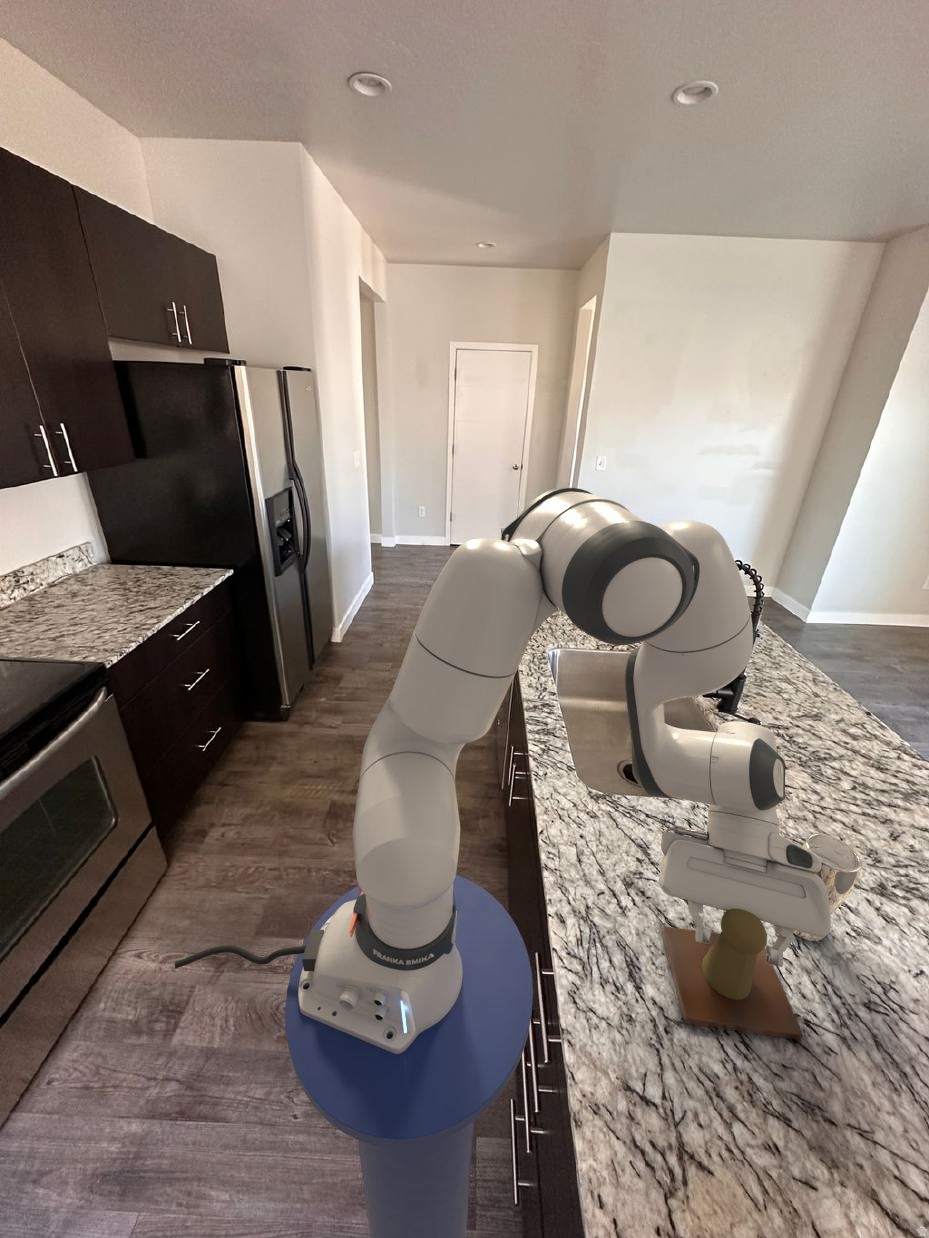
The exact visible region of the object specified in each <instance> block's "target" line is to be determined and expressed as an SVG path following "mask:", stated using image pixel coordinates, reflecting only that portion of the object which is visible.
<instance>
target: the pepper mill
mask: <svg viewBox="0 0 929 1238" xmlns="http://www.w3.org/2000/svg"><path fill="white" fill-rule="evenodd" d="M720 930H721V932H720V933H719V934H720V935H719V936H718V938H717V939H716V941H715V942H714V944H713V945H712V947H711V948H710V950H709V951H708V953H707V954H706V956H705V957H704V959H703V962H702V968H703V973H704V975H705V977H706V979H707V981H708V982H709V983H710V985H711V986H712V987H713V988H714V989H715V990H716V991H718V992H719V993H720V994H722V995H724V996H725V997H727V998H731V999H735V1000H739V999H744V998H745V997H747V996H748V995H749V993H750V991H751V986H752V980H753V974H754V968H755V963H756V957H757V954H758V953H760V952H761V951H762V950H763V949H764V947H765V946H767V944H768V933H767V930H766V927H765V925H764V924H763V921H761V920H759V919H758V918H757V917H756V916H755V915H754V914H752V913H750V912H748V911H746V910H742V909H731V910H728V911H725V912H724V914H723V915H722V916H721V920H720Z"/></svg>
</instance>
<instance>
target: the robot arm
mask: <svg viewBox="0 0 929 1238" xmlns="http://www.w3.org/2000/svg"><path fill="white" fill-rule="evenodd" d="M507 535H508V537H507V541H506V536H507ZM559 610H560V611H561V612H562V613H563V614H564V615H566V616H567V617H568V619H569V620H570V621H571V623H572V624H573V626H575V627H576V628H577V629H579V630H580V631H581V632H583V633H585V634H586V635H588V636H590V637H592V638H593V639H595V640H598V641H600V642H602V643H606V644H609V645H613V646H630V645H635V644H639V643H641V644H640V645H639V646H637V647H635V648H633V649H632V650H631V651H630V654H629V657H628V658H627V662H626V666H625V670H624V671H625V672H624V673H625V674H624V688H625V689H624V691H625V700H626V709H627V717H628V722H629V723H628V724H629V725H628V726H629V731H630V739H631V770H632V775H633V777H634V779H635V781H636V782H637V784H638V785H639V786H640V787H641V788H642V789H643V790H644V792H646V794H648V795H649V796H650V797H653V798H654V797H655V798H664V799H677V800H678V799H679V800H682V801H683V800H684V801H688V802H694V803H699V804H705V805H708V809H707V822H706V823H707V824H706V831H704V830H699V829H694V828H692V829H691V828H688V827H684V826H682V825H673V826H670V827H667V828H665V829H664V830H663V831H662V834H661V842H660V849H661V852H662V854H663V857H662V861H661V865H660V870H659V877H658V886H659V887H660V889H661V890H662V892H663V893H664V894H665V895H667V896H670V897H673V898H678V899H681V900H684V901H688V903H687V905H688V906H687V909H688V912H689V914H690V917H691V919H692V921H693V923H694V925H695V931H696V934H695V939H696V941H697V942H699V943H702V944H706V945H710V939H709V938H710V937H711V933H712V931H711V929H709V928H707V927H704V923H703V922H702V919H701V917H700V914H701V915H702V914H703V913H704V906H707V907H710V908H713V909H717V910H721V911H725V912H726V911H728V910H731V909H742V910H746V911H748V912H750V913H752V914H754V915H755V916H756V917H757V918H758V919H759V920H760V921H761V922H765V923H768V924H771V925H774V933H775V934H776V935H778V937H777V939H776V940H775V942H774V943H773V945H772V946H769V945H766V946H765V951H766V955H765V959H766V961H767V962H768V963H770V964H772V965H773V966H776V967H780V968H782V967H783V966H784V953H785V952H786V950H787V949H788V948H789V946H790V945H791V944H792V942H793V941H794V933H793V930H797V931H800V932H804V933H808V934H811V935H815V936H819V937H823V938H825V937H826V936H827V935H828V934H829V933H830V932H831V929H832V917H831V916H830V906H829V899H828V893H827V889H826V886H825V884H824V882H823V880H822V879H821V878H820V877H819V876H818V875H817V874H815V873H813V872H819V871H820V870H821V866H822V864H821V859H820V857H819V856H818V855H816V854H814V853H813V852H811V851H809V850H807V849H805V848H803V847H802V846H801V845H799V844H797V843H795V842H793V841H792V840H789V839H788V838H786V837H784V836H782V835H780V821H779V817H778V813H777V806H778V805H779V804H781V803H782V802H784V800H786V762H785V760H784V758H783V757H782V756H781V755H780V754H779V753H778V747H777V743H776V742H777V741H776V738H775V735H774V733H773V732H772V731H771V730H769V729H768V728H766V727H765V726H762V725H760V724H757V723H753V722H748V721H743V720H742V721H741V720H735V721H733V720H732V721H726V722H724V723H721V724H720V725H719V726H718V728H717V731H716V732H714V731H705V730H696V729H685V728H679V727H675V726H672V725H669V724H667V723H666V721H665V720H666V719H665V708H664V704H666V703H668V702H672V701H676V700H681V699H685V698H692V697H699V696H704V695H708V694H711V693H713V692H717V691H719V690H720V689H722V688H724V687H726V686H727V685H729V684H730V683H732V682H733V681H734V680H735V679H736V678H738V677H739V676H740V675H741V674H742V673H743V671H744V670H745V669H746V668H747V666H748V664H749V662H750V660H751V658H752V656H753V650H754V649H753V648H754V628H753V621H752V620H753V619H752V614H751V609H750V604H749V599H748V596H747V591H746V588H745V584H744V580H743V579H742V576H741V572H740V569H739V567H738V565H737V563H736V560H735V558H734V555H733V553H732V551H731V549H730V547H729V545H728V543H727V541H726V539H725V537H724V536H723V535H722V534H721V533H720V532H719V531H718V529H716V528H714V527H713V526H711V525H709V524H707V523H705V522H701V521H697V520H677V521H670V522H667V523H665V524H661V525H659V526H657V525H655V524H653V523H650V522H647V521H645V520H644V519H643V518H641V517H639V516H638V515H636V514H634V512H631V511H630V510H629V509H628V508H626V507H625V506H624V505H622V504H621V503H619V502H617V501H614V500H612V499H609V498H607V497H604V496H600V495H598V494H593V493H592V492H590V491H588V490H585V489H583V488H577V487H558V488H553V489H550V490H548V491H545V492H543V493H541V494H540V495H538V496H537V497H535V498H534V499H533V500H531V501H530V503H529V504H527V505H526V506H525V508H524V509H523V510H522V511H521V512H520V513H519V515H518V517H516V518H515V519H513V521H512V522H510V523H509V524H508V525H507V526H506V527H505V528H504V530H502V533H501V537H500V539H498V538H493V537H483V538H482V537H481V538H473V539H470V540H467V541H465V542H463V543H462V544H460V545H459V546H458V547H456V549H454V551H453V553H452V554H451V555H450V557H449V559H448V560H447V562H446V563H445V565H444V566H443V568H442V570H441V572H440V573H439V575H438V577H437V579H436V581H435V582H434V584H433V586H432V588H431V591H430V592H429V594H428V596H427V598H426V600H425V603H424V604H423V607H422V609H421V611H420V614H419V616H418V619H417V622H416V623H415V627H414V630H413V631H412V632H413V633H412V635H411V637H410V640H409V644H408V646H407V649H406V652H405V655H404V657H403V660H402V663H401V665H400V668H399V670H398V673H397V676H396V679H395V681H394V685H393V687H392V689H391V691H390V694H389V696H388V698H387V700H386V701H385V703H384V705H383V706H382V709H381V710H380V711H379V713H378V716H377V717H376V719H375V720H374V722H373V725H372V727H371V729H370V731H369V733H368V735H367V737H366V741H365V743H364V746H363V749H362V757H361V765H360V772H359V782H358V788H357V796H356V801H355V809H354V819H353V826H352V848H353V850H352V851H353V860H354V868H355V875H356V880H357V881H356V882H357V884H358V885H359V886H358V885H357V886H358V889H359V891H360V892H361V895H360V896H359V897H358V898H357V899H356V900H353V901H349V902H346V903H344V904H343V905H342V906H340V907H339V908H338V910H337V911H336V912H335V914H334V915H333V916H332V917H331V918H329V919H328V921H327V922H326V923H325V924H324V925H323V927H322V928H321V929H320V930H319V929H312V928H311V929H310V930H309V933H308V935H309V937H308V940H307V944H306V946H302V945H299V946H292V947H284V948H281V949H277V950H274V951H273V952H271V953H270V954H269V955H268V956H258V955H256V954H254V953H252V952H249V951H248V950H246V949H244V948H242V947H239V946H236V945H229V944H228V945H227V944H226V945H219V946H214V947H209V948H206V949H204V950H201V951H199V952H197V953H194V954H192V955H190V956H186V957H184V958H182V959H179V960H176V961H175V962H174V969H175V970H176V969H179V968H183V967H185V966H188V965H190V964H192V963H195V962H196V961H197V962H198V961H199V960H203V959H204V958H207V957H210V956H213V955H218V954H224V953H226V954H228V953H229V954H234V955H237V956H240V957H242V958H244V959H245V960H247V961H248V962H250V963H253V964H256V965H261V966H262V965H268V964H270V963H271V962H273V961H274V960H275V959H277V958H281V957H285V956H291V955H293V956H294V955H298V954H303V953H304V954H303V958H302V962H303V969H302V973H301V977H300V982H299V990H298V1001H299V1008H300V1012H301V1013H302V1014H304V1015H305V1016H308V1017H310V1018H312V1019H314V1020H317V1021H319V1022H321V1023H324V1024H326V1025H328V1026H331V1027H333V1028H335V1029H338V1030H340V1031H342V1032H345V1033H347V1034H349V1035H352V1036H354V1037H357V1038H359V1039H361V1040H364V1041H366V1042H368V1043H371V1044H373V1045H375V1046H378V1047H380V1048H382V1049H385V1050H387V1051H389V1052H392V1053H394V1054H400V1053H402V1052H404V1051H405V1050H406V1049H407V1048H408V1047H409V1046H410V1044H411V1043H412V1042H413V1041H414V1039H415V1038H416V1037H417V1036H418V1035H419V1034H420V1033H421V1032H423V1031H424V1030H426V1029H428V1028H430V1027H431V1026H433V1025H435V1024H436V1023H438V1022H439V1021H440V1020H441V1019H442V1018H444V1017H445V1015H446V1014H447V1013H448V1012H449V1011H450V1010H451V1008H452V1007H453V1005H454V1004H455V1002H456V1000H457V998H458V995H459V992H460V989H461V985H462V979H463V967H462V961H461V957H460V954H459V952H458V949H457V947H456V945H455V938H456V925H457V911H456V903H455V898H454V894H453V881H454V879H455V876H456V875H457V869H458V863H459V853H460V843H461V842H460V840H461V822H460V821H461V820H460V814H459V813H460V811H459V806H458V805H459V804H458V797H457V788H456V774H457V773H456V771H457V763H458V759H459V756H460V753H461V752H462V749H463V748H464V747H465V745H466V744H470V743H473V742H475V741H477V740H479V739H481V738H483V737H484V736H485V735H486V734H487V733H488V732H489V731H490V730H491V727H492V725H493V723H494V720H495V719H496V717H497V714H498V712H499V710H500V708H501V706H502V703H503V701H504V699H505V697H506V695H507V692H508V690H509V688H510V686H511V684H512V682H513V680H514V678H515V675H516V674H517V671H518V669H519V666H520V664H521V662H522V660H523V657H524V655H525V652H526V650H527V646H528V645H529V642H530V639H531V638H532V637H533V636H534V634H535V632H537V630H538V629H539V627H540V626H542V624H543V623H544V622H545V621H546V620H548V619H549V618H550V617H551V616H553V615H554V614H555V613H557V612H558V611H559ZM672 831H673V832H672ZM811 871H812V872H811ZM306 986H309V988H308V989H306V990H305V989H304V988H305V987H306ZM334 1015H336V1016H334ZM390 1034H391V1035H393V1037H392V1039H387V1036H388V1035H390Z"/></svg>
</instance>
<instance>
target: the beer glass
mask: <svg viewBox="0 0 929 1238" xmlns="http://www.w3.org/2000/svg"><path fill="white" fill-rule="evenodd" d="M801 847H803V848H805V849H807V850H809V851H811V852H813V853H814V854H816V855H818V856H819V857H820V859H821V864H822V866H821V870H820V871H819V872H813V873H815V874H817V875H818V876H819V877H820V878H821V879H822V880H823V882H824V884H825V886H826V889H827V893H828V899H829V906H830V917H831V916H832V915H833V914H834V913H835V912H836V910H838V909H839V908H840V907H841V906H842V904H844V902H845V901H846V900H847V898H849V896H850V894H851V893H852V891H853V889H854V887H855V884H856V883H857V879H858V877H859V873H860V870H861V868H862V865H863V863H862V859H861V857H860V855H859V854H858V853H857V852H856V851H855V850H854V848H852V846H851V845H849V844H848V843H846V842H845V841H843V840H841V839H839V838H837V837H835V836H833V835H830V834H827V833H822V832H821V833H820V832H814V833H810V834H809V835H807V836H806V838H805V840H804V842H803V844H802V846H801ZM811 872H812V871H811ZM793 935H795V936H797V937H799V938H801V939H803V940H806V941H809V942H819V941H821V940H823V938H824V937H819V936H815V935H811V934H808V933H804V932H800V931H797V930H793Z"/></svg>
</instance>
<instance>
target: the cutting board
mask: <svg viewBox="0 0 929 1238" xmlns="http://www.w3.org/2000/svg"><path fill="white" fill-rule="evenodd" d="M660 932H661V936H662V940H663V944H664V948H665V952H666V957H667V960H668V964H669V967H670V972H671V975H672V979H673V983H674V988H675V991H676V992H675V993H676V996H677V998H678V1003H679V1007H680V1011H681V1014H682V1019H683V1022H684V1024H689V1025H695V1026H702V1027H709V1028H714V1029H715V1028H716V1029H722V1030H729V1031H735V1032H736V1031H737V1032H743V1033H749V1034H756V1035H762V1036H770V1037H776V1038H783V1039H788V1040H789V1039H790V1040H796V1041H801V1039H802V1038H803V1036H804V1034H803V1032H802V1030H801V1029H802V1028H801V1027H800V1025H799V1022H798V1020H797V1018H796V1015H795V1013H794V1011H793V1009H792V1007H791V1004H790V1002H789V999H788V997H787V995H786V993H785V991H784V988H783V985H782V984H781V981H780V979H779V977H778V974H777V972H776V970H775V967H774V965H773V964H770V963H768V962H767V961H766V959H765V955H766V951H765V947H764V949H763V950H762V951H761V952H760V953H758V954H757V957H756V963H755V968H754V974H753V980H752V986H751V991H750V993H749V995H748V996H747V997H745V998H744V999H739V1000H735V999H731V998H727V997H725V996H724V995H722V994H720V993H719V992H718V991H716V990H715V989H714V988H713V987H712V986H711V985H710V983H709V982H708V981H707V979H706V977H705V975H704V973H703V968H702V962H703V959H704V957H705V956H706V954H707V953H708V951H709V950H710V948H711V947H712V945H713V944H714V942H715V941H716V939H717V938H718V936H719V935H720V933H719V932H711V937H710V938H709V939H710V945H706V944H702V943H699V942H697V941H696V939H695V934H696V929H695V930H694V929H687V928H679V927H671V926H664V925H663V926H662V927H661V931H660Z"/></svg>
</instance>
